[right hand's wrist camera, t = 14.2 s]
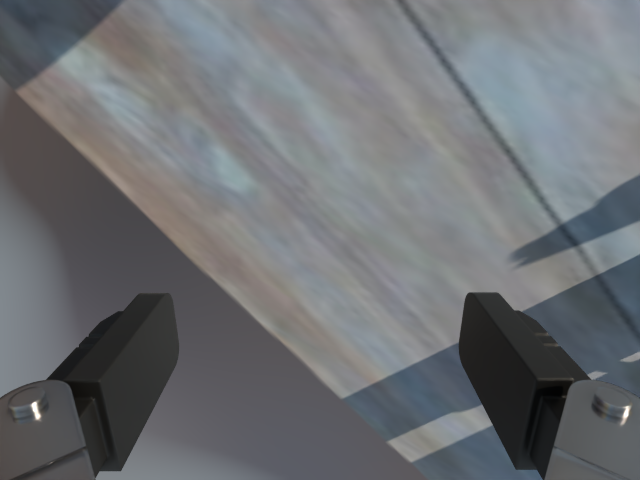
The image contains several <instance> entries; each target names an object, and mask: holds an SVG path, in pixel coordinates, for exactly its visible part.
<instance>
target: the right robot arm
mask: <svg viewBox="0 0 640 480" xmlns="http://www.w3.org/2000/svg"><path fill="white" fill-rule="evenodd" d="M178 354H179V340H178V333H177V326H176V319H175V312H174V305H173V300H172V297H171V295H170V294H169V293H140V294H138V295H137V296H136V297H135V298H134V300H133V301H132V302H131V303H130V304H129V305H128V306H127V308H126V309H125V310H124V311H118V312H116V313H115V314H113V315H111V316H110V317H108V318H106V319H105V320H103V321H101V322H100V323H99V324H98V325H97V326H96V327H95V328H94V329H93V330H92V331H91V333H90V334H89V337H86V338H85V339H84V340H83V341H82V342H81V343H80V344H79V347H77V348H76V349H75V350H74V351H73V352H72V353H71V354H70V355H69V356H68V357H67V358H66V359H65V360H64V361H63V362H62V363H61V364H60V366H59V367H58V368H57V369H56V370H55V371H54V372H53V373H52V374H51V375H50V376H49V377H48V378H47V379H46V380H43V381H37V382H33V383H30V384H26V385H24V386H21V387H19V388H17V389H14V390H12V391H10V392H9V393H7V394H5V395H4V396H2V397H1V398H0V480H96V479H95V478H96V476H97V474H98V473H99V471H121V470H122V468H123V466H124V464H125V462H126V460H127V458H128V456H129V455H130V453H131V451H132V449H133V447H134V445H135V443H136V441H137V439H138V437H139V435H140V433H141V432H142V430H143V428H144V426H145V424H146V422H147V420H148V418H149V416H150V414H151V412H152V410H153V408H154V407H155V405H156V403H157V401H158V399H159V397H160V395H161V393H162V391H163V389H164V387H165V385H166V383H167V381H168V380H169V378H170V376H171V374H172V372H173V370H174V368H175V366H176V363H177V360H178ZM459 355H460V360H461V363H462V366H463V368H464V370H465V372H466V373H467V375H468V377H469V379H470V381H471V383H472V385H473V387H474V389H475V391H476V393H477V395H478V397H479V399H480V401H481V403H482V405H483V407H484V408H485V410H486V412H487V414H488V416H489V418H490V420H491V422H492V424H493V426H494V428H495V430H496V432H497V434H498V436H499V438H500V440H501V442H502V444H503V445H504V447H505V449H506V451H507V453H508V455H509V457H510V459H511V461H512V463H513V465H514V467H515V469H516V470H538V472H539V474H540V475H541V477H542V479H543V480H640V398H639V397H638V396H636V395H635V394H633V393H631V392H630V391H628V390H626V389H623V388H621V387H619V386H616V385H614V384H610V383H607V382H603V381H597V380H591V379H590V378H589V377H588V376H587V374H586V373H585V372H584V371H583V370H582V369H581V368H580V367H579V366H578V365H577V364H576V363H575V362H574V361H573V359H572V358H571V357H570V356H569V355H568V354H567V353H566V352H565V351H564V350H563V349H562V348H561V347H560V346H558V343H557V342H556V341H555V340H554V339H553V338H552V337H551V336H548V333H547V332H546V330H545V329H544V328H543V327H542V326H541V325H540V324H539V323H538V322H537V321H536V320H534V319H532V318H531V317H529V316H527V315H526V314H524V313H522V312H521V311H514V310H513V309H512V308H511V306H510V305H509V304H508V303H507V302H506V301H505V300H504V298H503V297H502V296H501V295H500V294H499V293H468V294H467V296H466V298H465V303H464V310H463V317H462V324H461V331H460V338H459Z"/></svg>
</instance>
